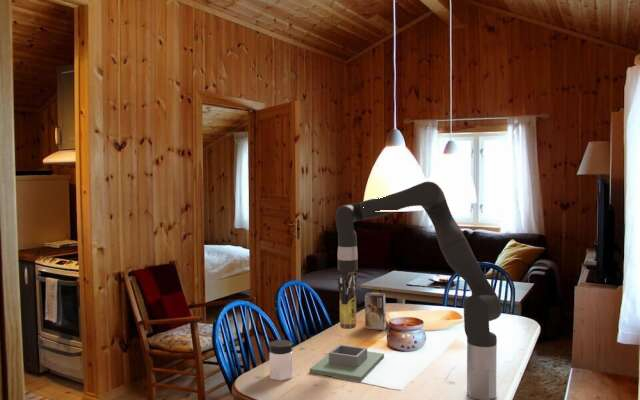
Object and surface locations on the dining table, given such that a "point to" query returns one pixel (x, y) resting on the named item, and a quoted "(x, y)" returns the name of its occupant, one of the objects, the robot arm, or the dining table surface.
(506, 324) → the dining table surface
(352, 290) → the sauce bottle
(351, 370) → the deck plate
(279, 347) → the jar
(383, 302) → the coffee box
